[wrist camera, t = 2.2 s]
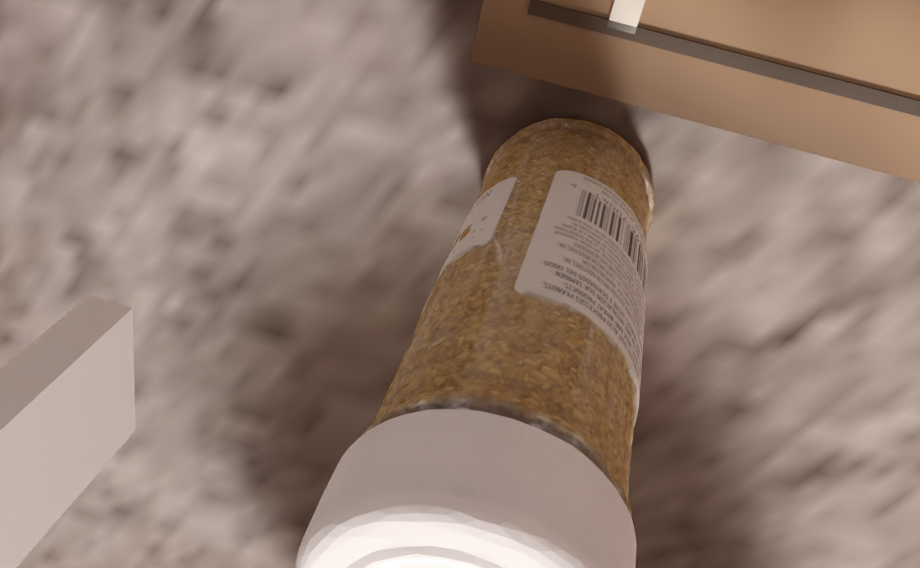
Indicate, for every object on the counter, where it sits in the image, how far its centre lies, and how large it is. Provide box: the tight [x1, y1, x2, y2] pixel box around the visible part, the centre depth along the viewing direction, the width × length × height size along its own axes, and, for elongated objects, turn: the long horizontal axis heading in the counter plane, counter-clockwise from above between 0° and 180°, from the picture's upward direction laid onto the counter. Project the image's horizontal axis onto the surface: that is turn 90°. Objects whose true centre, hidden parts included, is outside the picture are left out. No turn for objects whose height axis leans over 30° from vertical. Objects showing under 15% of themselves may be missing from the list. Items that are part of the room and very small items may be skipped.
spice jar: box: [295, 118, 654, 568], centre depth 16 cm, size 5×5×13 cm
